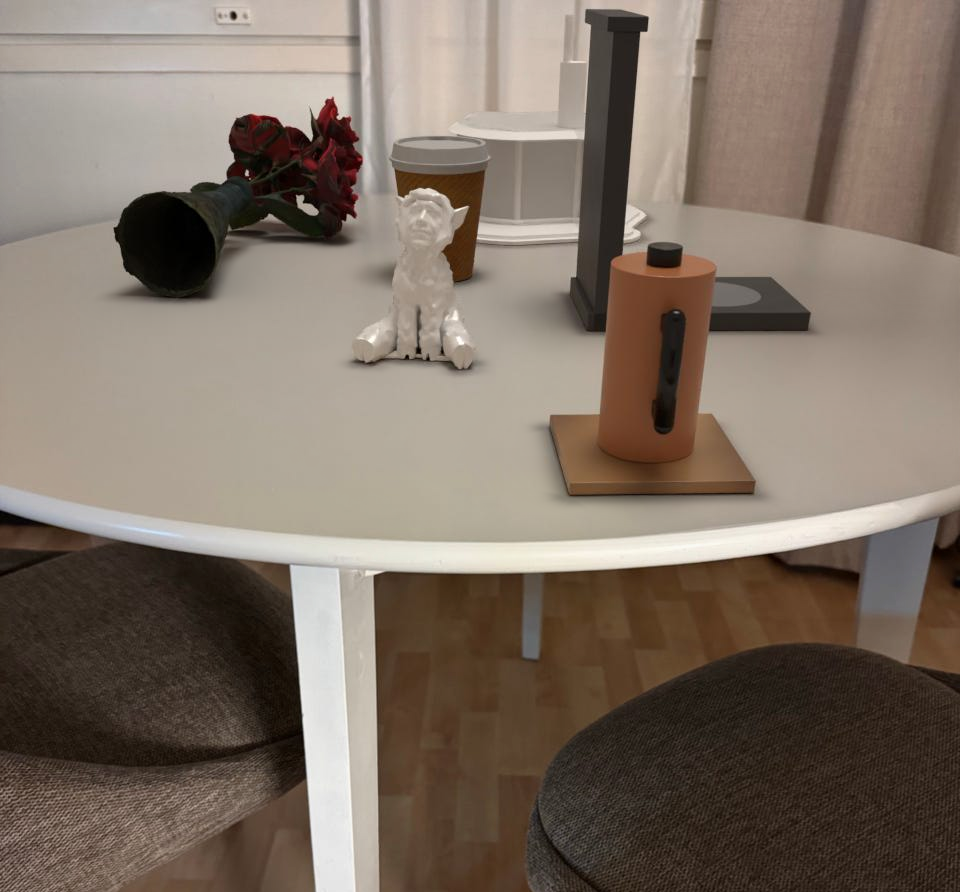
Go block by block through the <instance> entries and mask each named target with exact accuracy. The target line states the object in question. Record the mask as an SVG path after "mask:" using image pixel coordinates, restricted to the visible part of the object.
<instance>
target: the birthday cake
mask: <svg viewBox="0 0 960 892" xmlns="http://www.w3.org/2000/svg"><path fill="white" fill-rule="evenodd" d="M574 20H575V14H565V15H564V37H563V53H562V55H563V56H562V57H563V58H562V60H561V61H560V64H559V85H558V105H557V106H558V107H557V111H517V112H516V111H513V112H511V111H509V112H508V111H496V110H494V111H493V110H490V111H489V110H487V111H473V112H470V113H469V114H468V115H466V116H465V117H464V118H462V119H460V120H458V121H455V122H454V123H453V124H452V125H450V126H449V127H447V130H448V131H449V132H451V133H452V134H453V133H454V134H455V135H456V136H458V137H469V138H476V139H479V140H483V141H484V142H486V147H487V153H488V155H489V156H490V157H491V159H490V161H489V162H488V168H487V169H485V179H484V187H483V194H482V202H481V210H480V217H479V226H478V234H477V241H476V244H484V245H485V244H487V245H497V246H498V245H500V246H524V245H525V246H526V245H527V246H528V245H545V244H546V245H547V244H563V243H565V244H566V243H578V236H579V219H580V202H581V185H582V168H583V151H584V134H585V117H586V112H585V108H586V91H587V74H588V61H584V60H573V59H572V58H573V41H574V23H575V21H574ZM645 220H647V214H646V212H644V211H643V210H641V209H638V208H637V207H635V206H633V205H631V204H629V203H627V205H626V217H625V230H624V242H623V245H624V244H630V243H635V242H637V241H638V240H640V239H641V235H642V233H641V231H639V229H635V228H637V227H638V226H639V225H640V224H642V223H643V222H644V221H645Z"/></svg>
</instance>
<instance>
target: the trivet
mask: <svg viewBox="0 0 960 892" xmlns="http://www.w3.org/2000/svg"><path fill="white" fill-rule="evenodd" d="M599 415H600V413H599V414H598V413H596V414H594V413H593V414H592V413H591V414H586V413H585V414H583V413H582V414H550V415H549V424H548V425H549V428H550V431H551V435H552V439H553V442H554V445H555V446H554V447H555V450H556V453H557V456H558V459H559V464H560V467H561V470H562V471H561V472H562V474H563V478H564V481H565V484H566V488H567V491H568V494H569V495H570V496H577V495H579V496H581V495H582V496H583V495H584V496H585V495H590V496H591V495H661V494H668V495H670V494H674V495H677V494H739V493H740V494H753V493H755V489H756V483H757V481H756V478H755V477H754V476H753V474H752V473H751V471H750V469H749V468H748V466H747V465H746V463H745V462H744V460H743V459H742V457H741V456H740V454H739V452H738V451H737V450H736V448H735V447H734V445H733V443H732V442H731V440H730V439H729V437H728V436H727V434H726V432H725V431H724V430H723V428H722V427H721V425H720V424H719V422H718V421H717V418H716V417H715V416H714V414H713V413H698V418H697V426H696V434H695V441H694V448H693V451H692V452H691V453H690V454H689V455H688V456H686V457H684V458H682V459H679V460H676V461H671V462H663V463H642V462H634V461H628V460H624V459H620V458H617V457H615V456H612V455H610V454H608V453H606V452H605V451H603V450H602V449H601V448H600V447H599V445H598V428H599Z"/></svg>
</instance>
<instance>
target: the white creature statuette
mask: <svg viewBox="0 0 960 892" xmlns="http://www.w3.org/2000/svg"><path fill="white" fill-rule="evenodd" d="M394 198H395V201H396V203H397V205H398V211H399V212H398V216H396V218H395V219H394V225H395V226H397V233H398V235H397V240H398V241H399V242H401V244H402V245H403V246H404V248H405V247H406V248H405V249H404V250H403V252H402V253H401V256H399V257H398V258H397V259H396V266H395V268H394V270H393V276H392V281H391V290H392V292H393V296H392V298H393V299H392V300H393V302H392V303H391V304H390V305H388V309H387V310H388V312H387V314H386V316H385V317H383V318H382V319H380V320H378V321H377V322H374V323H372V324H370V325H369V324H368V326H366V327H365V328H363V329H362V331H361V333H360V334H359V335H357V337H355V338H354V339H353V341H352V343H351V349H352V352H353V355H354V357H355V358H356V359H357V360H358V361H362V362H365V364H369V363H375V362H377V361H379V360H382V359H401V360H404V359H406V356H408V358H409V360H413V359H415V358H418V359H419V358H420V359H422V360H423V361H427V359H428V358H429V361H431V362H434V361H442V362H452V363H453V364H454V366H455V368H457V369H458V370H462V369H465V370H466V369H468V368H469V367H470V366H471V364H472V362H473V361H474V358H475V351H476V348H477V345H476V343H475V341H473V335H471V334H470V333H469V331H468V330H467V327H466V324H465V318H464V316H463V314H462V312H461V307H460V304H459V301H458V299H457V296H456V293H455V290H454V287H455V286H454V282H455V281H454V282H453V280H452V279H453V277H452V274H453V273H452V271H451V270H450V264H449V262H448V261H447V260H446V256H445V255H444V254H443V253H442V252H441V251H442V250H443V249H444V248H445V246H446V245H448V244H451V243H452V239H453V237H454V232H455V230H456V229H458V228H459V227H460V226H461V225H462V224H463V222H464V219H465V216H466V214H467V211H468V209H469V207H470V206H466V207H462V208H459V209H455V210H454V209H453V208H452V207H451V204H450V200H449V199H448V198H447V197H446V196H445V195H442V194H440V193H438V192H437V191H435V190H432V189H430V188H426V189H422V188H418V189H416V190H413V191H410V192H409V195H406V196H405V197H404V198H402V197H400V196H398V195H395V197H394ZM417 350H420V353H417ZM442 352H443V353H442Z"/></svg>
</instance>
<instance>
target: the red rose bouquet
mask: <svg viewBox="0 0 960 892" xmlns="http://www.w3.org/2000/svg"><path fill="white" fill-rule="evenodd" d="M308 107H309V112H310V129H311V134H312V138H311V139H310V138H309V136H308V135H306V133H305V132H304V131H303V130H301V129H300V128H297V127H295V126H294V127H293V126H291V125H286V126H284V125H283V123H282V122H281V121H280V120H279V118H278V117H276V116H271V115H267V114H261V115H257V114H254V113H248V114H244V115H242V116H240V117H235V120H234V121H233V123H232V125H231V128H230V132H229V134H228V139H227V140H228V144H229V148H230V151H231V153H232V154H233V160H234V161H233V162H232V163H231V164H230V165H229V166H228V167H227V168H226V169H227V170H226V172H225V175H226V180H224V181H223V182H222V183H216V182H211V181H201V182H198V183H197V184H194V185H192V187H191V188H190V189H189V191H166V190H161V191H155V192H149V193H143V194H142V195H140V196H138V197H136V198H135V199H133V200H132V201H131V202H130V203H129V204H128V205H127V206H125V207H124V208H123V210H122V211H121V214H120V218H119V220H118V224H117V226H114V227H113V233H114V240H115V242H116V243H118V245H119V249H120V255H121V259H122V266H123V269H124V270H125V272H126V273H128V274H129V276H133V277H135V278H136V279H137V280H138V281H139V282H140V283H141V285H143V286H144V287H146V288H147V289H148V290H149V291H151V292H154V293H156V294H159V295H164V296H165V297H170V298H178V299H179V298H183V297H187V296H189V295H192V294H194V293H196V292H198V291H200V290H202V289H204V287H205V286H206V285H207V284H208V283H209V282H210V280H211V278H212V277H213V276H214V273H215V270H216V268H217V266H218V263H219V259H220V257H221V256H220V254H221V252H222V250H223V247H224V245H225V241H226V239H227V235H228V231H229V228H230V229H231V230H232V231H234V230H238V229H244V228H245V227H251V226H253V225H255V224H257V223H259V222H260V221H264V220H265V219H266V218H268V217H269V215H271V216H273V218H275V219H276V220H278V221H280V222H282V223H284V224H285V225H286V226H287V227H289V228H291V229H293V230H294V231H297V232H299V233H301V234H304V235H306V236H308V237H314V238H322V237H323V238H324V239H326V240H330V238H333V237H334V236H336V235H337V234H339V233H340V231H341V230H342V228H343V225H344V223H343V222H345V223H346V222H347V218H348V215H349V216H350V217H352V218H353V219H355V220H356V219H357V217H358V214H357V212H356V210H355V207H356V206H355V205H356V202H357V201H358V200H359V194H357V193H353V192H354V191H355V190H354V189H353V187H354V186H356V185H357V181H358V180H357V179H358V178H357V177H358V176H357V175H358V174H359V171H360V169H361V168H362V166H363V163H364V159H363V155H362V154H361V153H360V152H359V151H358V150H356V147H355V145H354V144H355V143H357V142H359V141H360V137H359V136H358V135H357V133H356V131H355V130H353V129H352V127H351V122H352V117H351V115H349V116H342V117H341V118H340V119H339V118H338V116H339V115H340V113H339V108H338V106H337V104H336V102H335V97H334V96H333V95H332V97H331V98H329V97H328V98H326V99H325V101H324V105H323V106H322V107H321V109H320V111H319V113H318V117H317V118H315V116H314V114H313V111H312V109H311V107H310V105H308ZM247 171H248V174H247V175H246V173H247ZM300 196H303V200H302V204H303V205H304V204H306V205H311V206H312V207H313V208H314V209H316V211H317V214H314V215H313V214H309V213H307V212H306V211H304V209H302V208H300V207H299V204H298V200H297V199H298V198H297V197H300Z"/></svg>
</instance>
